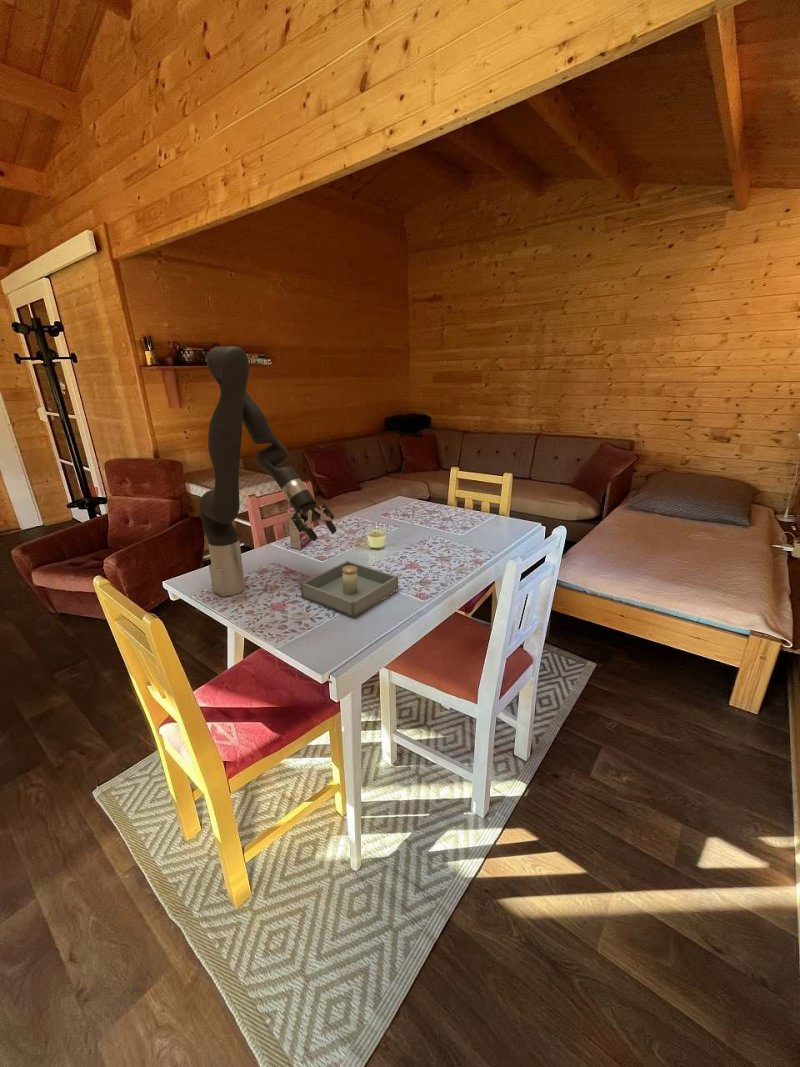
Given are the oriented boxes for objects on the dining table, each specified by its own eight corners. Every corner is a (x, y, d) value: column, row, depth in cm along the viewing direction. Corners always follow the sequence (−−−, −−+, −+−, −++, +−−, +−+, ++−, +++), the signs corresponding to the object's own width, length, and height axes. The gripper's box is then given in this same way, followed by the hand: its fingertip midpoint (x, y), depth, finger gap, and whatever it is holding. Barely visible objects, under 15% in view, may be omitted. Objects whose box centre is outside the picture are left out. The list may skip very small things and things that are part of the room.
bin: (353, 618, 131) (353, 603, 129) (301, 597, 143) (300, 583, 141) (397, 590, 148) (398, 576, 146) (348, 573, 160) (347, 560, 158)
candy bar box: (301, 539, 192) (298, 502, 187) (312, 539, 191) (309, 502, 186) (290, 548, 182) (286, 510, 176) (301, 549, 181) (298, 510, 175)
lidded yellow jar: (350, 596, 142) (350, 573, 139) (339, 591, 144) (339, 569, 142) (360, 590, 146) (360, 567, 143) (349, 586, 148) (349, 564, 145)
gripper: (286, 493, 139) (314, 536, 137) (319, 485, 150) (346, 524, 148) (276, 507, 144) (303, 548, 141) (309, 497, 155) (335, 535, 152)
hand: (325, 535), depth 144 cm, fingers open, 8 cm apart
